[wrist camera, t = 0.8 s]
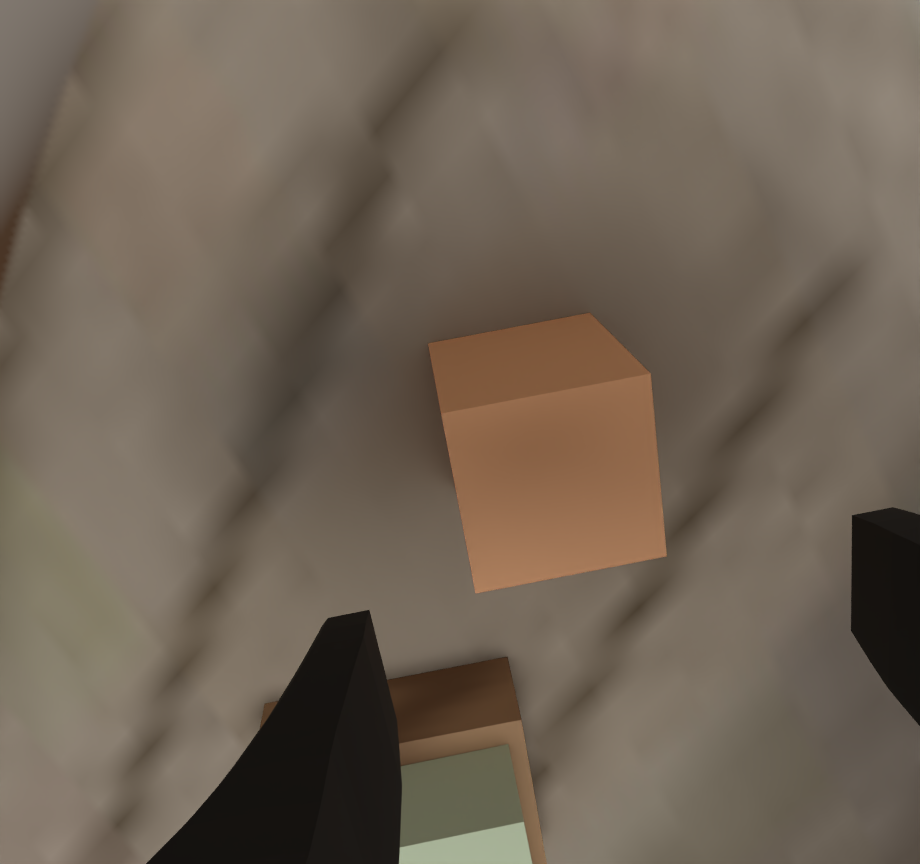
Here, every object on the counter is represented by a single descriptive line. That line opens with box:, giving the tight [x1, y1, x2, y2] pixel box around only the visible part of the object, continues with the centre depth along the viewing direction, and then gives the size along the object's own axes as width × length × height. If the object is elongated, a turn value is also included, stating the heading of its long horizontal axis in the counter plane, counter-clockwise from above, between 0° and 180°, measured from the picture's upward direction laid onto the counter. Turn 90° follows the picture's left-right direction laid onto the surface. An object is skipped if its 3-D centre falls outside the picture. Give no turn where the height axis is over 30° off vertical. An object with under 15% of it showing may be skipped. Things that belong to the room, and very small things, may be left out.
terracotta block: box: [428, 313, 667, 593], centre depth 19 cm, size 4×4×5 cm
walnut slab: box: [260, 657, 547, 864], centre depth 24 cm, size 7×7×3 cm
